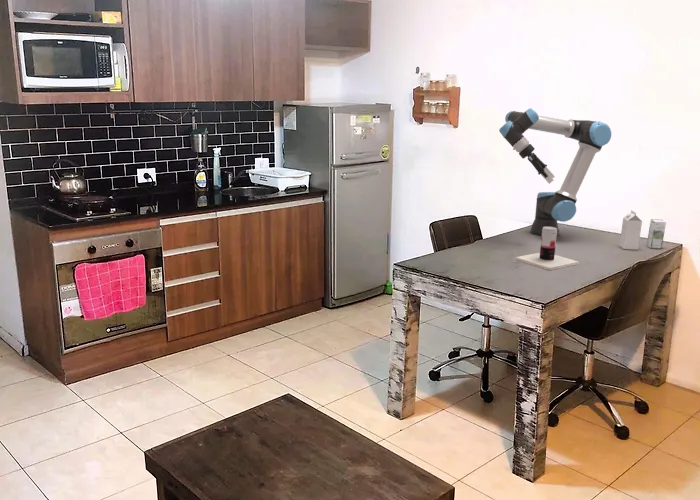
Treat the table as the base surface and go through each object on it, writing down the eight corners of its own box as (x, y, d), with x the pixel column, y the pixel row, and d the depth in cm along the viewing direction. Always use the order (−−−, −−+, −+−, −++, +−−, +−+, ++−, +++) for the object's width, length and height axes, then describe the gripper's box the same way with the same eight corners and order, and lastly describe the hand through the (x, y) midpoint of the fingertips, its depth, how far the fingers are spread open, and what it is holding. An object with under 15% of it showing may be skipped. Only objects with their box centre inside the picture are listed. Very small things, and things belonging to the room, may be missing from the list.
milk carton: (633, 246, 332) (638, 210, 327) (638, 250, 325) (643, 213, 320) (619, 245, 333) (624, 209, 328) (623, 249, 326) (628, 212, 321)
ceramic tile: (515, 259, 303) (515, 257, 303) (543, 254, 314) (544, 251, 314) (549, 270, 287) (549, 267, 287) (578, 264, 298) (578, 261, 298)
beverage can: (554, 261, 297) (558, 230, 293) (539, 260, 298) (543, 229, 294) (553, 258, 303) (556, 226, 299) (538, 257, 304) (541, 226, 300)
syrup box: (657, 246, 334) (662, 218, 330) (662, 249, 328) (666, 221, 324) (646, 245, 334) (650, 218, 330) (650, 248, 329) (654, 220, 325)
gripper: (520, 150, 336) (547, 181, 335) (515, 155, 313) (544, 188, 312) (531, 141, 333) (559, 171, 332) (527, 145, 310) (557, 178, 309)
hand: (552, 180), depth 322 cm, fingers open, 13 cm apart
